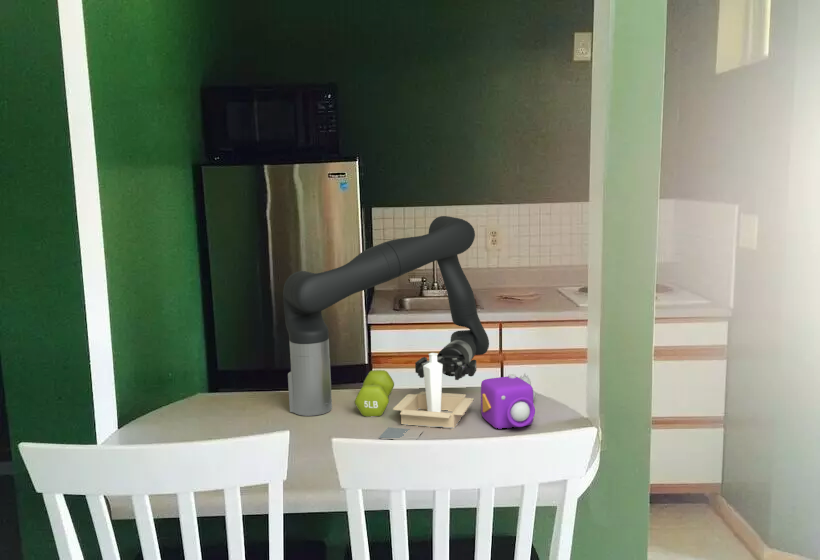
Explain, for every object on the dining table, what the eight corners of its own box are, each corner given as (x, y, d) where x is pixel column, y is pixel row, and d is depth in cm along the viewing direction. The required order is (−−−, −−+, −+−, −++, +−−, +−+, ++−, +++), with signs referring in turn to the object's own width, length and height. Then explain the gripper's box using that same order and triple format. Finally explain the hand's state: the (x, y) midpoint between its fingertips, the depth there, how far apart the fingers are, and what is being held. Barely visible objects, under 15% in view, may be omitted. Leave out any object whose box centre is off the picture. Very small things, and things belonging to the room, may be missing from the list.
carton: (389, 427, 156) (389, 412, 155) (411, 404, 171) (411, 390, 170) (460, 433, 151) (460, 417, 150) (476, 409, 166) (476, 395, 165)
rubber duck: (517, 408, 166) (516, 375, 165) (508, 400, 172) (508, 368, 171) (539, 406, 167) (539, 374, 165) (530, 398, 173) (530, 366, 172)
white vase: (421, 420, 160) (420, 355, 157) (428, 414, 164) (427, 351, 161) (440, 422, 158) (439, 357, 156) (447, 416, 162) (445, 352, 160)
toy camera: (508, 439, 147) (508, 392, 145) (473, 420, 159) (472, 377, 157) (549, 429, 152) (549, 384, 150) (512, 411, 164) (512, 370, 162)
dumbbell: (388, 418, 162) (387, 388, 161) (353, 418, 163) (352, 388, 162) (395, 396, 178) (395, 368, 177) (364, 396, 179) (363, 368, 178)
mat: (379, 438, 149) (378, 437, 149) (388, 429, 155) (388, 427, 155) (415, 442, 147) (415, 440, 147) (423, 432, 152) (423, 430, 152)
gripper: (427, 341, 180) (408, 357, 165) (482, 344, 176) (468, 360, 161) (428, 370, 181) (409, 388, 166) (483, 373, 177) (468, 392, 162)
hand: (438, 374), depth 163 cm, fingers open, 8 cm apart
